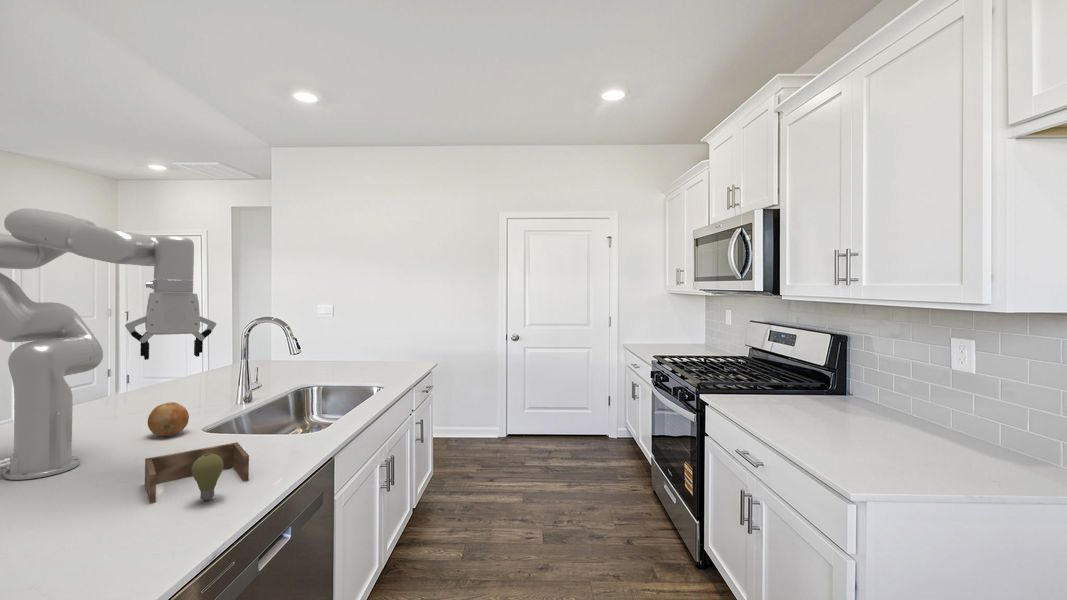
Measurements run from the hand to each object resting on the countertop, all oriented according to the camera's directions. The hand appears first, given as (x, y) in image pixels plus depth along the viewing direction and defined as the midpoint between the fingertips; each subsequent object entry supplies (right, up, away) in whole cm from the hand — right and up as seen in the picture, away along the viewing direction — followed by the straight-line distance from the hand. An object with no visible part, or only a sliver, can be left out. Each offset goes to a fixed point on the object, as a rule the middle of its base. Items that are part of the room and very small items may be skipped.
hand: (172, 357), depth 110 cm
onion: (-23, -27, +26) cm, 44 cm away
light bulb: (+18, -29, -13) cm, 37 cm away
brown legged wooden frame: (+10, -29, -5) cm, 31 cm away
